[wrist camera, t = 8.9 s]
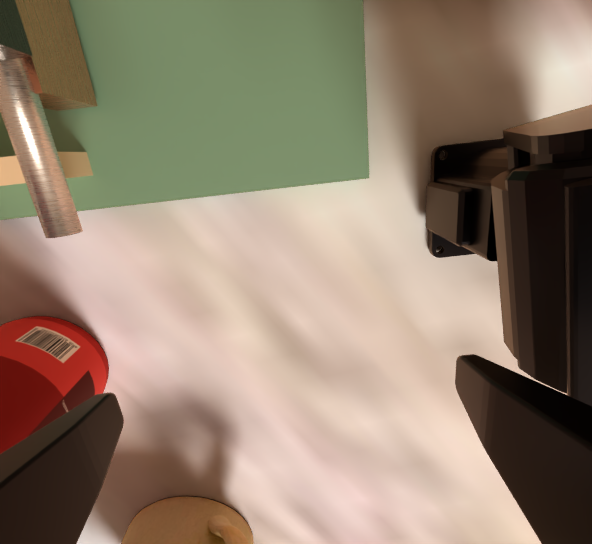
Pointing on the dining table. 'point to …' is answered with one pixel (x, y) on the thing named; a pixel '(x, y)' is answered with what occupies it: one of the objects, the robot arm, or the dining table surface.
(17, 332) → the canned food
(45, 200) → the kicker rod
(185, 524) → the cream teapot
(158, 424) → the dining table surface
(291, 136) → the pitch
